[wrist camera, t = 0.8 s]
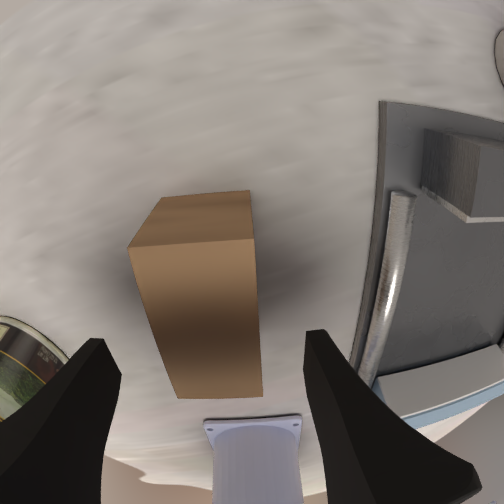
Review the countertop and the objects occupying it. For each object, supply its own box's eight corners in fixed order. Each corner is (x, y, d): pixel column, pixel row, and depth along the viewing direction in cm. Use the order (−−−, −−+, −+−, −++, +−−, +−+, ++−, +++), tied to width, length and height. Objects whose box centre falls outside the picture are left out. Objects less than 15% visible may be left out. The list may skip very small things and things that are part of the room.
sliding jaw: (484, 362, 20) (503, 393, 17) (369, 394, 20) (384, 438, 17) (495, 342, 19) (517, 374, 15) (377, 375, 19) (394, 420, 15)
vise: (491, 354, 21) (514, 389, 17) (341, 394, 21) (355, 446, 17) (558, 141, 12) (605, 162, 7) (379, 101, 12) (440, 109, 7)
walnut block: (257, 325, 17) (262, 396, 13) (189, 329, 17) (177, 398, 13) (249, 189, 14) (254, 238, 9) (162, 197, 14) (127, 247, 9)
